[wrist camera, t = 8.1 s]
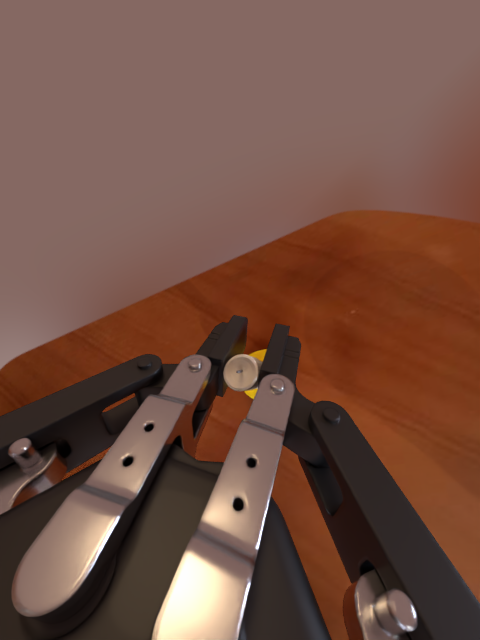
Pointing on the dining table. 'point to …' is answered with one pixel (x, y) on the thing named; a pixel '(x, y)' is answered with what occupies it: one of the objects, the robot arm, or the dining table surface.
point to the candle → (244, 372)
